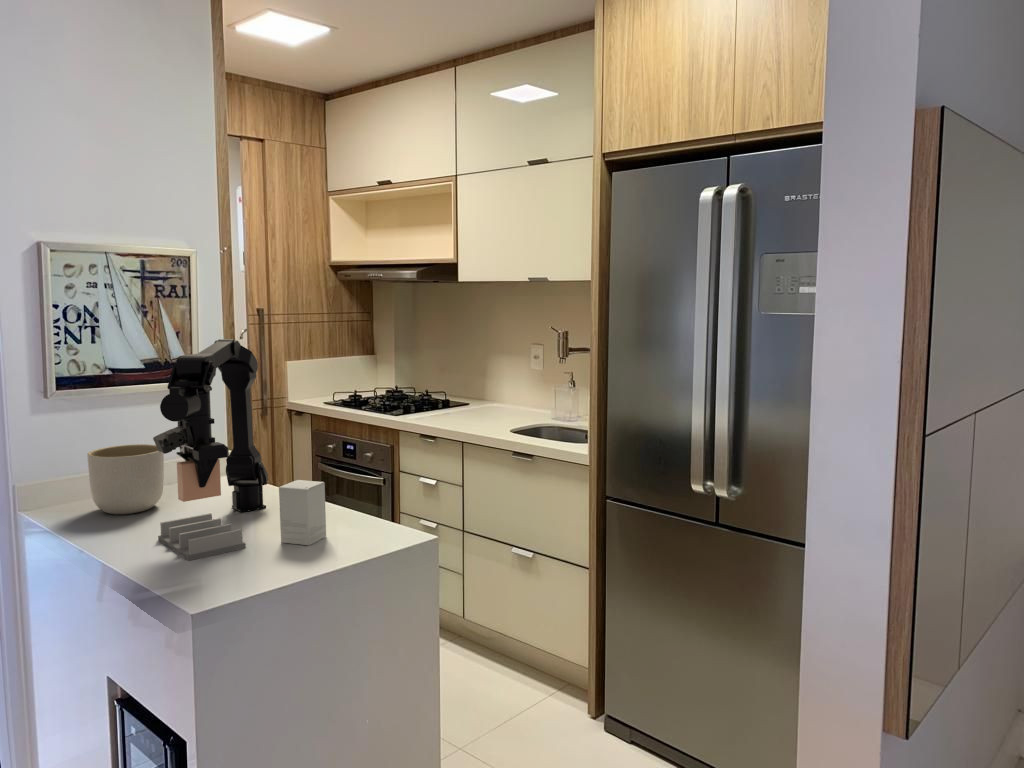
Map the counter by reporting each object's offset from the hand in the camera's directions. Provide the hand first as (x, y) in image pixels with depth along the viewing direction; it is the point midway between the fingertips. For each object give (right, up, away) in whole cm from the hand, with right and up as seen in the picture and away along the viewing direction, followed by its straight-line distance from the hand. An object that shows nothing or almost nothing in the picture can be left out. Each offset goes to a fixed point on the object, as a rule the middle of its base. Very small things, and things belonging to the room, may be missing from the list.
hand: (199, 485), depth 164 cm
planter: (-29, -10, +28) cm, 42 cm away
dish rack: (0, -13, +1) cm, 13 cm away
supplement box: (+21, -13, +5) cm, 25 cm away
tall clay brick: (0, -3, 0) cm, 2 cm away
